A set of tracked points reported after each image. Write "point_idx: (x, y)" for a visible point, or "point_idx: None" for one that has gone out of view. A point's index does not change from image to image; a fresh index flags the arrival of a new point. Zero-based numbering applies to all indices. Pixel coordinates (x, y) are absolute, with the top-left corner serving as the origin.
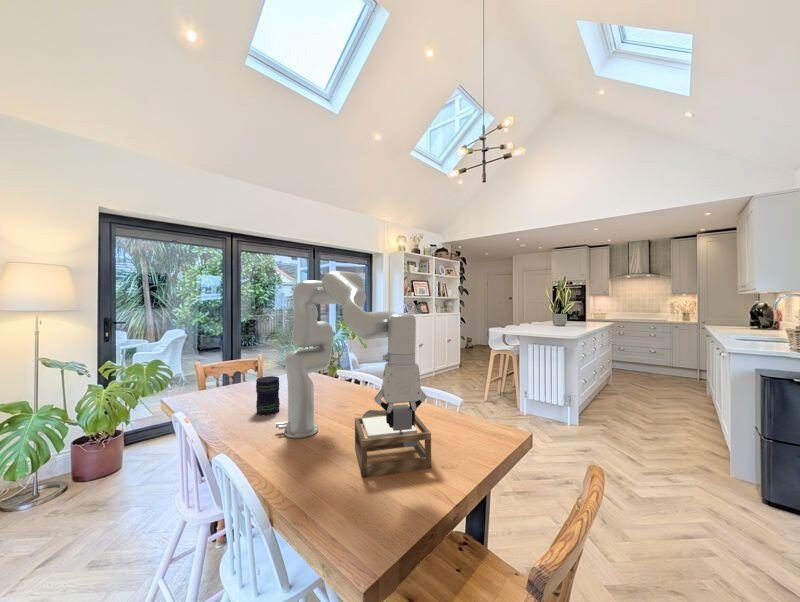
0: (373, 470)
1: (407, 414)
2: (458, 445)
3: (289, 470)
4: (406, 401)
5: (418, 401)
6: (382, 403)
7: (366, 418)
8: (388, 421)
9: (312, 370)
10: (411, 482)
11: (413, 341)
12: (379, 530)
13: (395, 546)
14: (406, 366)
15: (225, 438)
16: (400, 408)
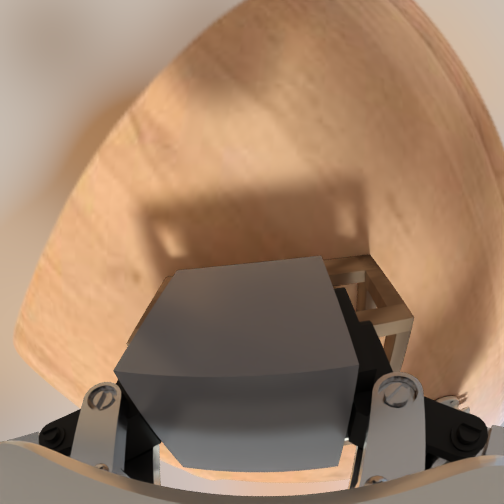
0: (341, 266)
1: (175, 347)
2: (105, 353)
3: (488, 298)
4: (132, 495)
5: (54, 446)
6: (480, 446)
7: (347, 438)
8: (365, 327)
9: None
10: (229, 213)
11: None
12: (336, 32)
13: None
14: None
15: None
16: (249, 435)
